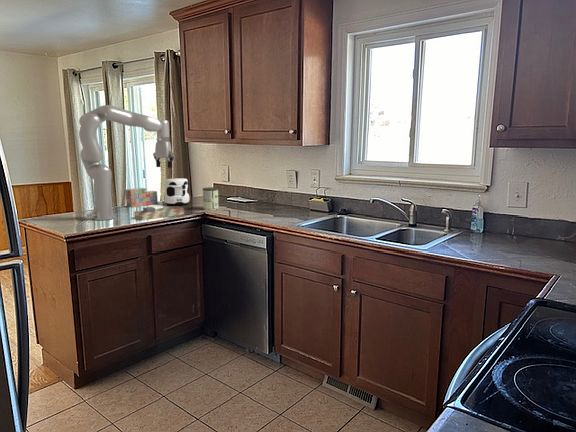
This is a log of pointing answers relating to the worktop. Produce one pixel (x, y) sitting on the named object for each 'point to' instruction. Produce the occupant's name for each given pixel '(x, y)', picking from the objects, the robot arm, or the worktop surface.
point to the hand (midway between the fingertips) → (164, 167)
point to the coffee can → (210, 198)
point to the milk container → (176, 191)
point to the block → (148, 209)
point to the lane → (159, 213)
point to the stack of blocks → (140, 197)
